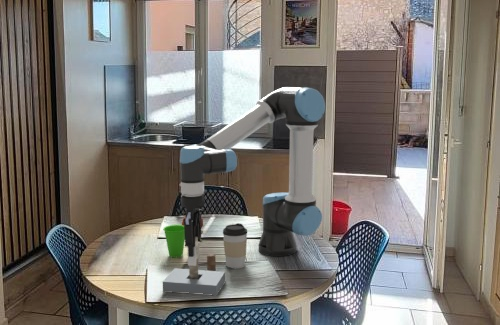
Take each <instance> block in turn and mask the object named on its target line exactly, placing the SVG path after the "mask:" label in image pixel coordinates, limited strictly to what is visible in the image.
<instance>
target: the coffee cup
mask: <svg viewBox="0 0 500 325" xmlns="http://www.w3.org/2000/svg"><path fill="white" fill-rule="evenodd" d="M222 235H223V249H224V256H225V266H226V267H227V268H229V267H231V268H230V269H241V268H243V266H244V265H246V255H247V243H248V242H247V241H248V238H247V237H248V229H247V228H246V227H245V226H244V225H243V223H234V224H233V223H232V224H228V225H226V226H225V227H224V228H223V229H222ZM240 267H241V268H240ZM244 267H245V266H244Z"/></svg>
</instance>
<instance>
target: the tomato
mask: <svg viewBox="0 0 500 325" xmlns="http://www.w3.org/2000/svg"><path fill="white" fill-rule="evenodd" d="M184 218H186V217H185V216H184V217H183V218H182V221H181V225H183V226H184V222H183V219H184ZM203 227H204V218H203V216H201V229H203Z"/></svg>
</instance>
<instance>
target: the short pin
mask: <svg viewBox="0 0 500 325" xmlns="http://www.w3.org/2000/svg"><path fill="white" fill-rule="evenodd" d="M216 264H217V263H216V254H213V253H211V254H210V253H209V254H207V255H206V271H217V270H216V269H217V268H216Z"/></svg>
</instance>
